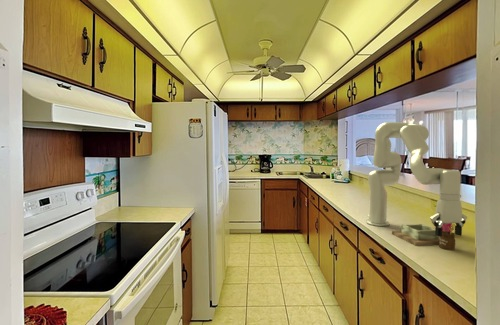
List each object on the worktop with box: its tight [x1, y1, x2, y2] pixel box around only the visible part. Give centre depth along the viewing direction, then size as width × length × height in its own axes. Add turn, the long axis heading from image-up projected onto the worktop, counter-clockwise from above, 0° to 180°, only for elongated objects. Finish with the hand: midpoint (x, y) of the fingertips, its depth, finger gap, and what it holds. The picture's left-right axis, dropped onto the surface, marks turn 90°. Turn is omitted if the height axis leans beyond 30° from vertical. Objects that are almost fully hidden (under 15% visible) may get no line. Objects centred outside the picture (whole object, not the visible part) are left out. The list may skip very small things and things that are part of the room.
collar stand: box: [391, 223, 440, 246], centre depth 148 cm, size 18×18×6 cm
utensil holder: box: [438, 223, 456, 251], centre depth 134 cm, size 6×6×12 cm
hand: (448, 235), depth 134 cm, fingers open, 9 cm apart
